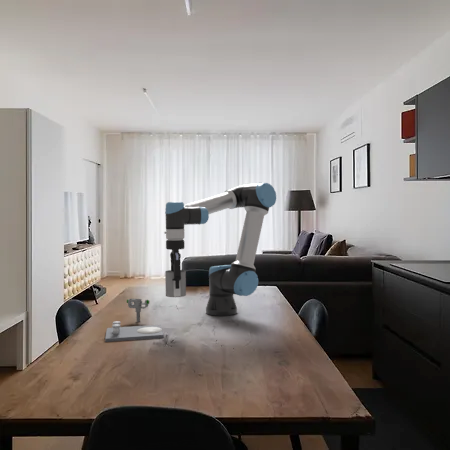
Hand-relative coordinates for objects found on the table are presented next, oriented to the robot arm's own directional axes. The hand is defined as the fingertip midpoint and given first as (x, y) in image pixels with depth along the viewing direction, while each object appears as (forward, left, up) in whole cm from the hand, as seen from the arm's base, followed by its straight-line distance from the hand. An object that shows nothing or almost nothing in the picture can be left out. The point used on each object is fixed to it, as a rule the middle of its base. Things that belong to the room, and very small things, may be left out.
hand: (175, 294), depth 181 cm
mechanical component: (+15, -20, -15) cm, 29 cm away
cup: (0, 0, -1) cm, 1 cm away
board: (+17, +1, -15) cm, 23 cm away
